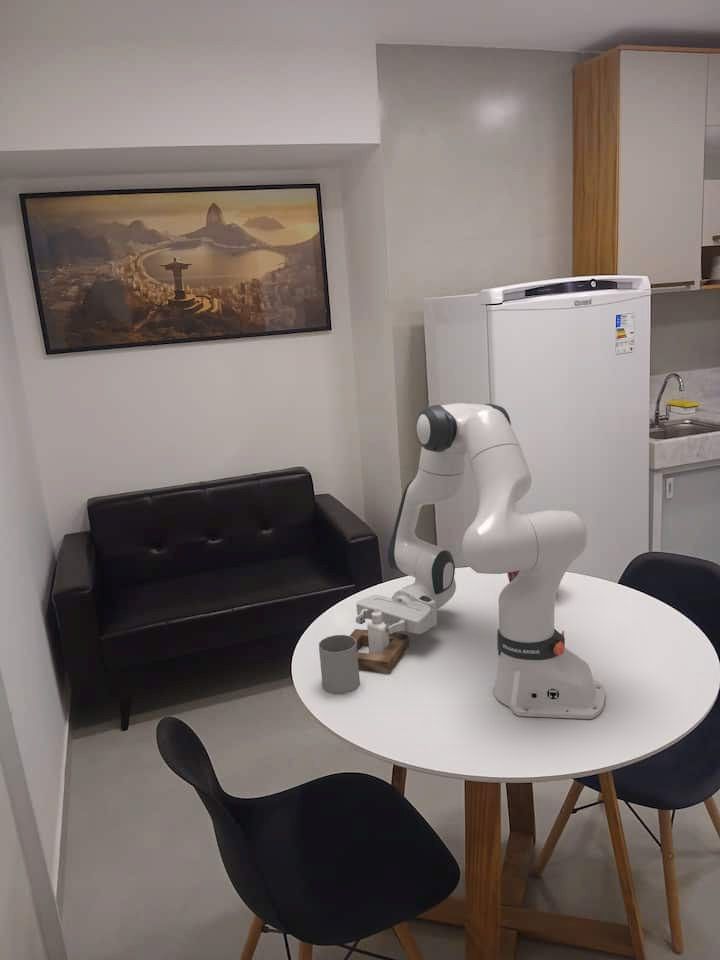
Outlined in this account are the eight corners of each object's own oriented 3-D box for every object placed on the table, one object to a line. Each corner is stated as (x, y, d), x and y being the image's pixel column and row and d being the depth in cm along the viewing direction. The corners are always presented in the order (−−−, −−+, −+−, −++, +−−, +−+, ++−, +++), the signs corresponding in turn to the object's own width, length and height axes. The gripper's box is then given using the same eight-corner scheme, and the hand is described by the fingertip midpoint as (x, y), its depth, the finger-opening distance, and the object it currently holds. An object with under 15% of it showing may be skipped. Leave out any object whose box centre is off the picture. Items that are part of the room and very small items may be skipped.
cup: (361, 674, 166) (358, 634, 163) (358, 693, 158) (354, 651, 155) (325, 675, 167) (321, 635, 164) (319, 694, 159) (315, 652, 156)
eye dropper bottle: (373, 661, 172) (369, 614, 169) (368, 650, 177) (364, 604, 174) (391, 658, 172) (388, 611, 170) (385, 647, 178) (382, 602, 175)
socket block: (409, 646, 178) (408, 634, 177) (389, 674, 165) (388, 662, 164) (356, 639, 183) (355, 628, 182) (333, 666, 170) (332, 654, 170)
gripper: (376, 585, 189) (340, 603, 179) (440, 602, 175) (404, 623, 166) (378, 607, 190) (342, 627, 181) (442, 626, 177) (406, 648, 167)
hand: (372, 625), depth 173 cm, fingers open, 8 cm apart
